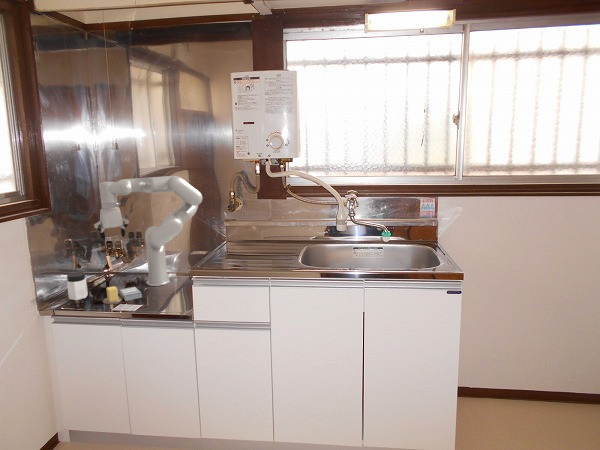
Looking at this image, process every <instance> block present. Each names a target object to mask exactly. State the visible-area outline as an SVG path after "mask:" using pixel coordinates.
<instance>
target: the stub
mask: <svg viewBox="0 0 600 450" xmlns="http://www.w3.org/2000/svg"><path fill="white" fill-rule="evenodd" d="M118 291H119V290H118V287H116V285H111V286H107V287H106V296H107V297H106V298H108V300H109V301H110V302H113V301H117V300H119V299H118V296H119V292H118Z"/></svg>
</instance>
